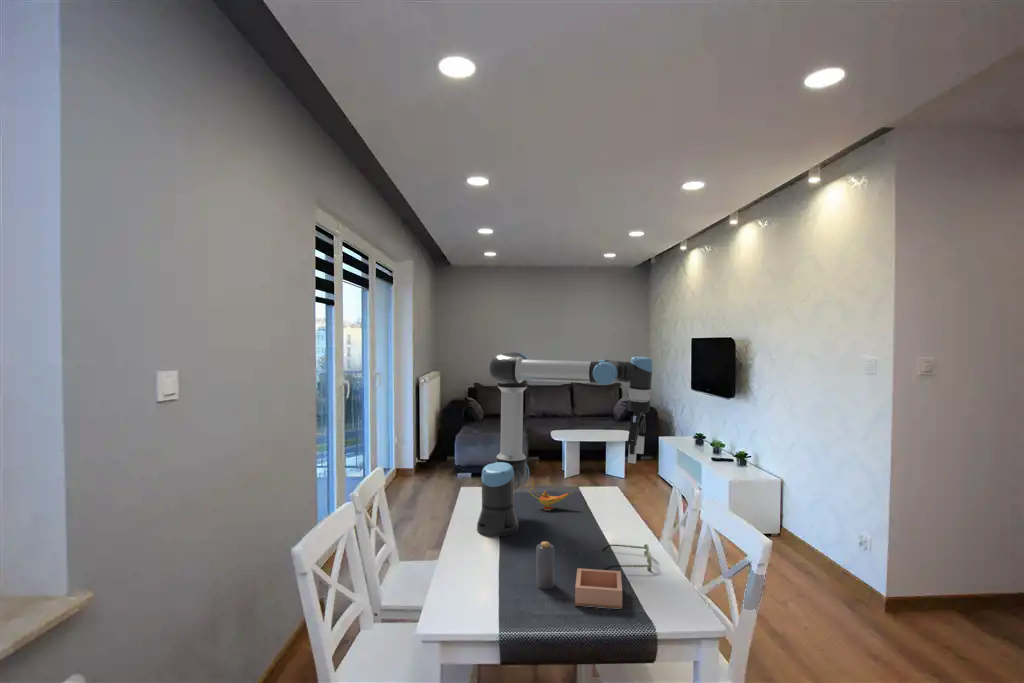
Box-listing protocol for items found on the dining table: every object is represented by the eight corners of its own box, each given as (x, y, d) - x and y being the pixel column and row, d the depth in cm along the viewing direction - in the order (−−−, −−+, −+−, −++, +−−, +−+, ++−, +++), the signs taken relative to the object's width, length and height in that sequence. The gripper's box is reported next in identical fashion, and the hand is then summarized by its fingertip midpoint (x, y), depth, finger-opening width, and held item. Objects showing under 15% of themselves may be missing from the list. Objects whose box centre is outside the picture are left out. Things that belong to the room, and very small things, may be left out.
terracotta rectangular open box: (575, 606, 141) (575, 587, 141) (577, 585, 152) (577, 568, 152) (622, 610, 139) (622, 590, 139) (620, 589, 150) (620, 571, 150)
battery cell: (535, 588, 151) (535, 545, 151) (537, 580, 156) (537, 539, 156) (553, 589, 150) (553, 546, 150) (554, 582, 155) (554, 540, 155)
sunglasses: (652, 576, 159) (652, 559, 159) (600, 573, 162) (600, 556, 162) (647, 554, 176) (647, 539, 176) (600, 551, 178) (600, 536, 178)
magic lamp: (573, 511, 219) (573, 484, 219) (529, 510, 220) (528, 483, 220) (573, 506, 225) (572, 480, 225) (529, 505, 227) (529, 479, 227)
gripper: (643, 407, 181) (639, 468, 182) (656, 396, 203) (652, 451, 205) (620, 404, 184) (617, 465, 186) (636, 393, 207) (632, 448, 208)
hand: (635, 458), depth 195 cm, fingers open, 13 cm apart
